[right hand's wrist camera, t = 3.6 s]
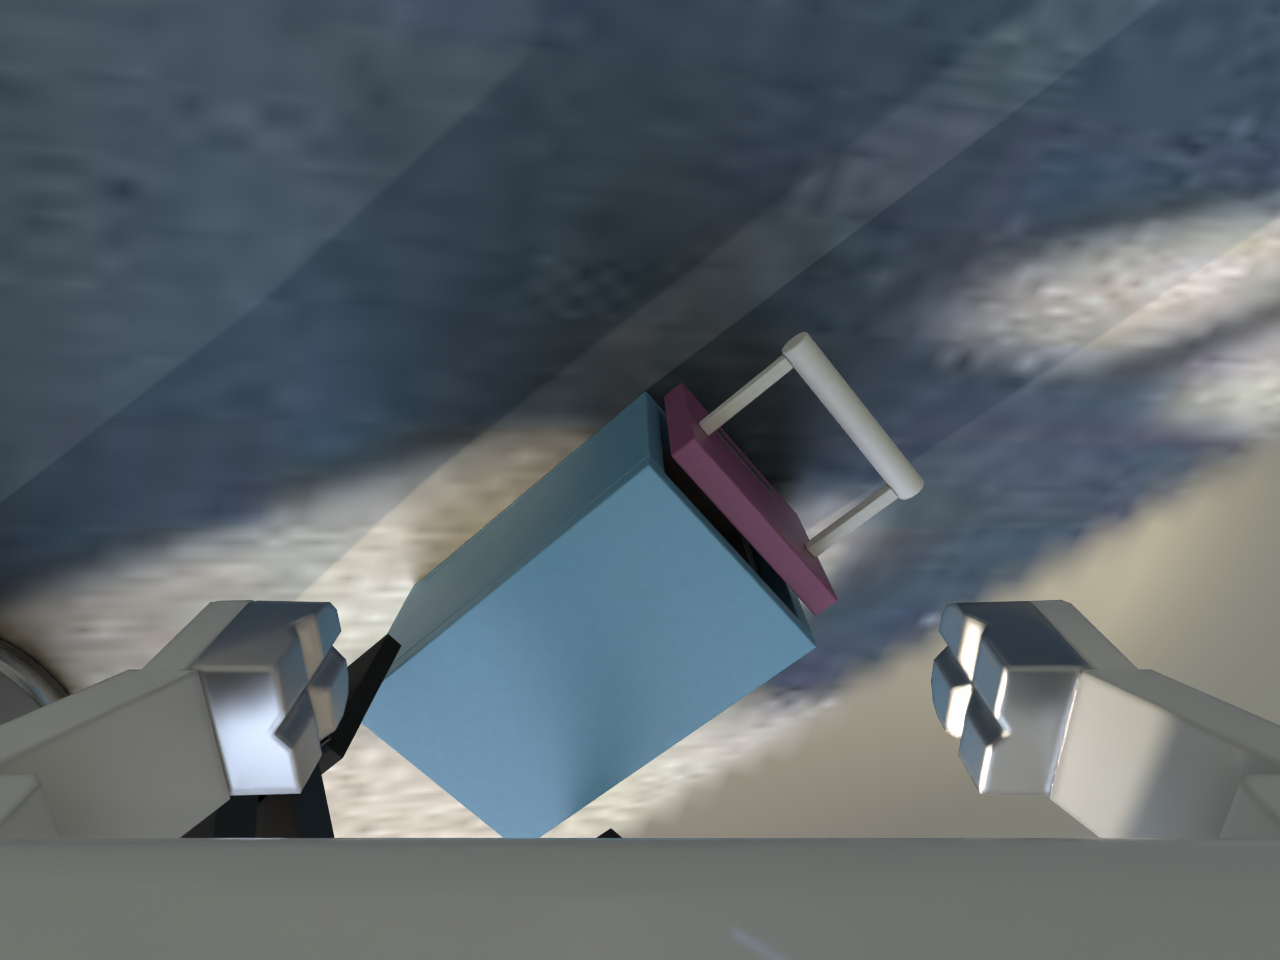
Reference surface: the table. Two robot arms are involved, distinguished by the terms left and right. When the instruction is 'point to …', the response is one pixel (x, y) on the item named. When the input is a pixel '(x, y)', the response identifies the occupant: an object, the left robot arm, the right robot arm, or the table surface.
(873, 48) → the table surface
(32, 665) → the left robot arm
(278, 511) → the table surface
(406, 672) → the cabinet
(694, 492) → the drawer
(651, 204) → the table surface
